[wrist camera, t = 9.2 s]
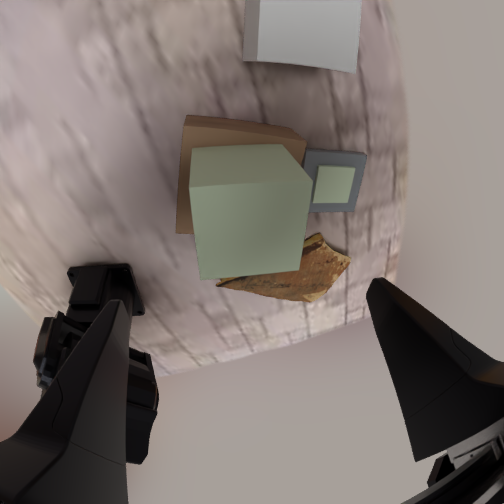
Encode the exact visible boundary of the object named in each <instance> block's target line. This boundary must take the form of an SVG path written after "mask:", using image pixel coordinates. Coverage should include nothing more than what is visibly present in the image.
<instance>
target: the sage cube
mask: <svg viewBox="0 0 504 504" xmlns="http://www.w3.org/2000/svg"><path fill="white" fill-rule="evenodd" d="M312 185H313V180H312V179H311V178H310V177H309V176H308V174H307V173H306V172H305V171H304V169H303V168H302V167H301V166H300V165H299V163H298V162H297V161H296V160H295V159H294V158H293V156H292V155H291V154H290V153H289V152H288V151H287V149H286V148H285V147H284V146H283V145H282V144H255V145H230V146H213V147H200V148H192V155H191V167H190V181H189V192H190V202H191V211H192V219H193V228H194V236H195V244H196V251H197V259H198V266H199V273H200V280H208V279H219V278H229V277H239V276H249V275H259V274H269V273H278V272H287V271H296V270H299V267H300V261H301V255H302V250H303V244H304V238H305V231H306V225H307V219H308V212H309V206H310V199H311V192H312Z"/></svg>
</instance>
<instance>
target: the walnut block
mask: <svg viewBox="0 0 504 504" xmlns="http://www.w3.org/2000/svg"><path fill="white" fill-rule="evenodd" d="M255 144H282V145H283V146H284V147H285V148H286V149H287V151H288V152H289V153H290V154H291V155H292V156H293V158H294V159H295V160H296V161H297V162H298V163H299V165H300V166H301V163H302V160H303V156H304V152H305V149H306V145H307V141H305V140H304V139H303V138H302V137H301V136H300V135H299V134H297V133H296V132H295V131H294V130H293V129H291V128H286V127H280V126H275V125H269V124H262V123H256V122H249V121H242V120H234V119H226V118H216V117H206V116H194V115H187V116H186V119H185V123H184V127H183V136H182V146H181V156H180V168H179V181H178V196H177V214H176V233H179V234H194V228H193V219H192V211H191V202H190V192H189V181H190V167H191V155H192V148H200V147H213V146H230V145H255Z"/></svg>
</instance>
